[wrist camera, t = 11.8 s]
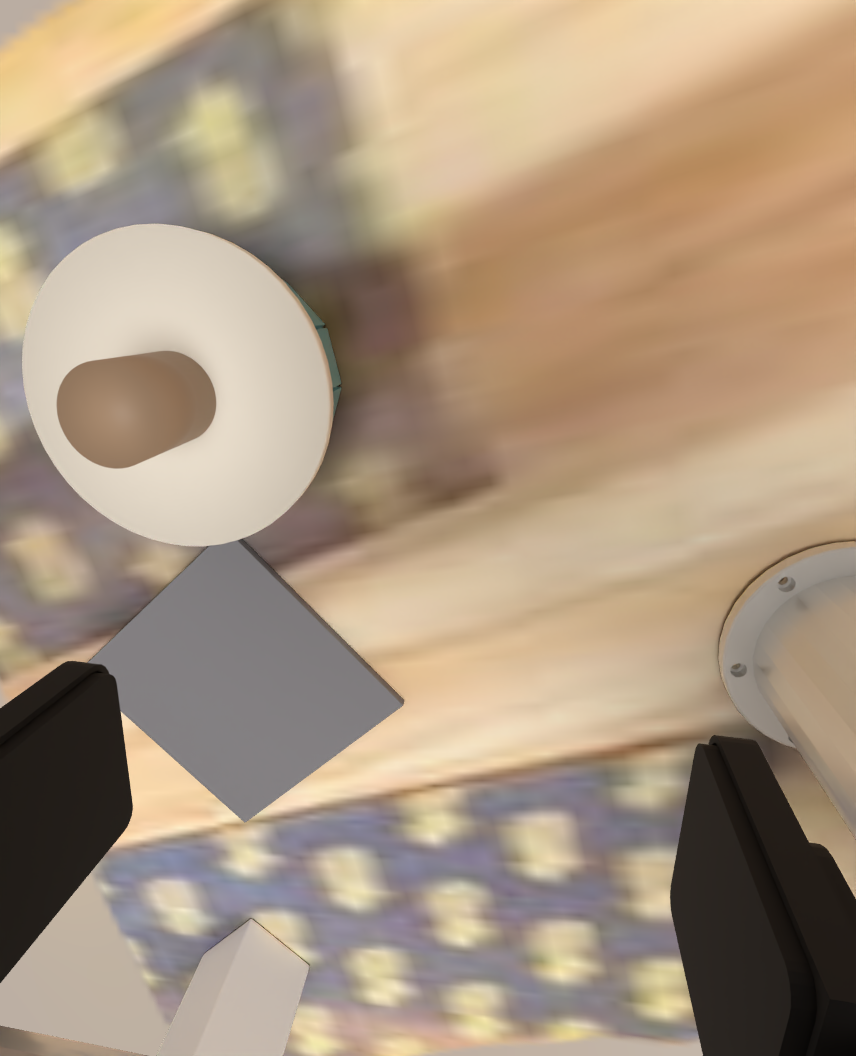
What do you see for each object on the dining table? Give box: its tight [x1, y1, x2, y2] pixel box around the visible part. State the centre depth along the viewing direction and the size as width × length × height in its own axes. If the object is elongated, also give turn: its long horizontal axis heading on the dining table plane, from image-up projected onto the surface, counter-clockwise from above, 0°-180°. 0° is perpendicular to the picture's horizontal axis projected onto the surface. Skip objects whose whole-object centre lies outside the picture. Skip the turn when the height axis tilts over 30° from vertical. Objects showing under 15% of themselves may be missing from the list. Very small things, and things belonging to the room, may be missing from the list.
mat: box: [88, 539, 404, 822], centre depth 42 cm, size 15×15×1 cm
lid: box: [22, 224, 334, 546], centre depth 27 cm, size 14×14×6 cm
